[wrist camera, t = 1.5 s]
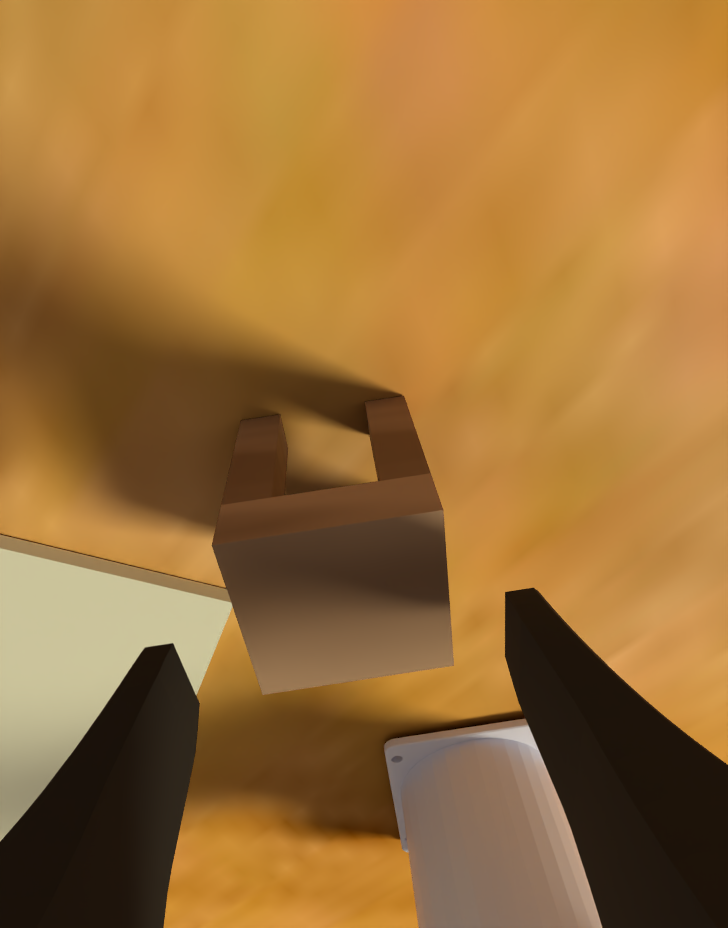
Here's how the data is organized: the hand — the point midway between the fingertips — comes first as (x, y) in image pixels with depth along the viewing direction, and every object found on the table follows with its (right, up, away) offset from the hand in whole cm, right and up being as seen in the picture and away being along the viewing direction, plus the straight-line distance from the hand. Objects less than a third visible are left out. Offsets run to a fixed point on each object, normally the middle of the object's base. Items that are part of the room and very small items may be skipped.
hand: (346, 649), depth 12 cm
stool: (-1, +4, +6) cm, 7 cm away
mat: (-13, -6, +11) cm, 18 cm away
